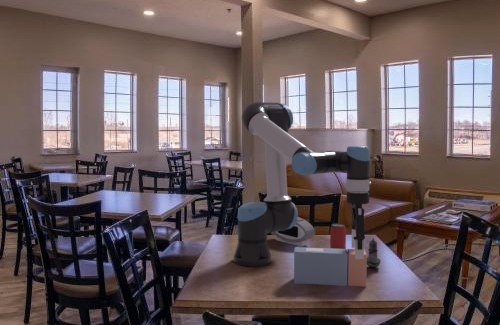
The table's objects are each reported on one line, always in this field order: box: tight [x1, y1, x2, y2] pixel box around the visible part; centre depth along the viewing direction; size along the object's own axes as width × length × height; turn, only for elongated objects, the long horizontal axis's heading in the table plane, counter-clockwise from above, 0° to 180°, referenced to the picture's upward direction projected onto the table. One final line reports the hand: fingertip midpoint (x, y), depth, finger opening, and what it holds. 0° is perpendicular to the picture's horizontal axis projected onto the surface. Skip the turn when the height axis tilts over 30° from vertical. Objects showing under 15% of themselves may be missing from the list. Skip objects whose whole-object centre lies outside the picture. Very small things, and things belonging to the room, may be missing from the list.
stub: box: [346, 248, 368, 288], centre depth 145 cm, size 6×6×11 cm
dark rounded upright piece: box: [367, 238, 382, 271], centre depth 160 cm, size 6×6×12 cm
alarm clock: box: [271, 216, 316, 247], centre depth 199 cm, size 23×6×13 cm, turn 43°
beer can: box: [329, 223, 347, 250], centre depth 183 cm, size 7×7×12 cm
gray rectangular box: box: [293, 246, 348, 287], centre depth 147 cm, size 18×6×12 cm, turn 81°
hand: (357, 253), depth 144 cm, fingers open, 13 cm apart
